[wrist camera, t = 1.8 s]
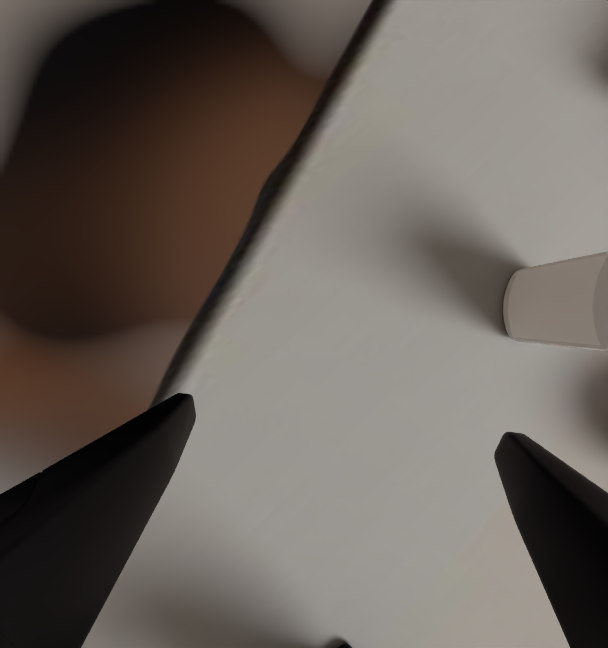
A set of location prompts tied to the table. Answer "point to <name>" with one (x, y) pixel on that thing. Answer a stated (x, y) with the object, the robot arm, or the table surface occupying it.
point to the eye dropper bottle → (560, 303)
